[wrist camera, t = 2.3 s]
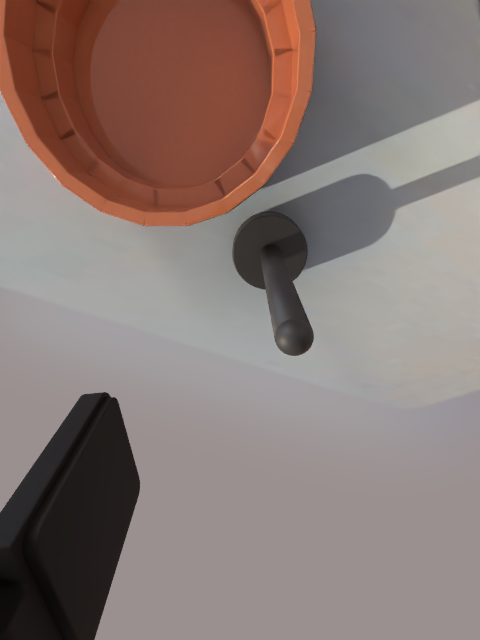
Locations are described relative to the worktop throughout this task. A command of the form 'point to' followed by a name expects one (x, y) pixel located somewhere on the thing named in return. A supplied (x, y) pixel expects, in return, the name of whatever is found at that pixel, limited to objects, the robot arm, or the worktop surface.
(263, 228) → the grey disc stick
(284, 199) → the worktop surface
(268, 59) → the bowl
